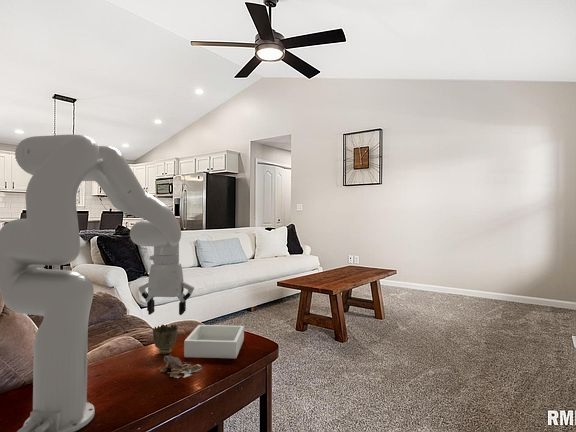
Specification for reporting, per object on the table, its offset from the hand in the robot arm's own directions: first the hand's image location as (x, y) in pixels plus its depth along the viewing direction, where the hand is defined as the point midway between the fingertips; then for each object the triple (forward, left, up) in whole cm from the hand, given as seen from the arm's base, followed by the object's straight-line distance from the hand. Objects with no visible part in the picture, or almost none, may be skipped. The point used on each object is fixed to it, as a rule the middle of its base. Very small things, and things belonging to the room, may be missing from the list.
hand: (166, 313), depth 113 cm
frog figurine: (-12, -8, -13) cm, 20 cm away
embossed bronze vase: (-1, 0, -12) cm, 12 cm away
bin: (+4, -15, -12) cm, 20 cm away
